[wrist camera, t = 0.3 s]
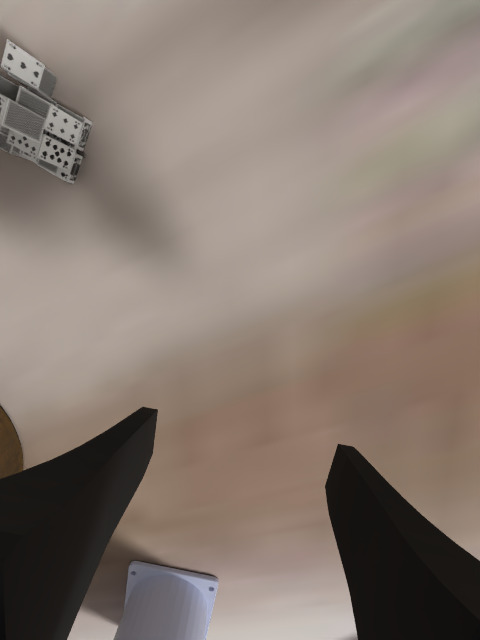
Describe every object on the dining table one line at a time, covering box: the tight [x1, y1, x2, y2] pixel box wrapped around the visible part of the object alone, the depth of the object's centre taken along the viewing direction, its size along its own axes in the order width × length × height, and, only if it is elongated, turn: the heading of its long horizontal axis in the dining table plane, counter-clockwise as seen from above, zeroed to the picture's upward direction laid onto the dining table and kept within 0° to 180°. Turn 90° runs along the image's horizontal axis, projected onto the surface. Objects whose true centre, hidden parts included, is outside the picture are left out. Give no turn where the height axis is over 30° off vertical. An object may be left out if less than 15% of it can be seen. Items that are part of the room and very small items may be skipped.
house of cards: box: [0, 39, 93, 184], centre depth 15 cm, size 9×9×8 cm
